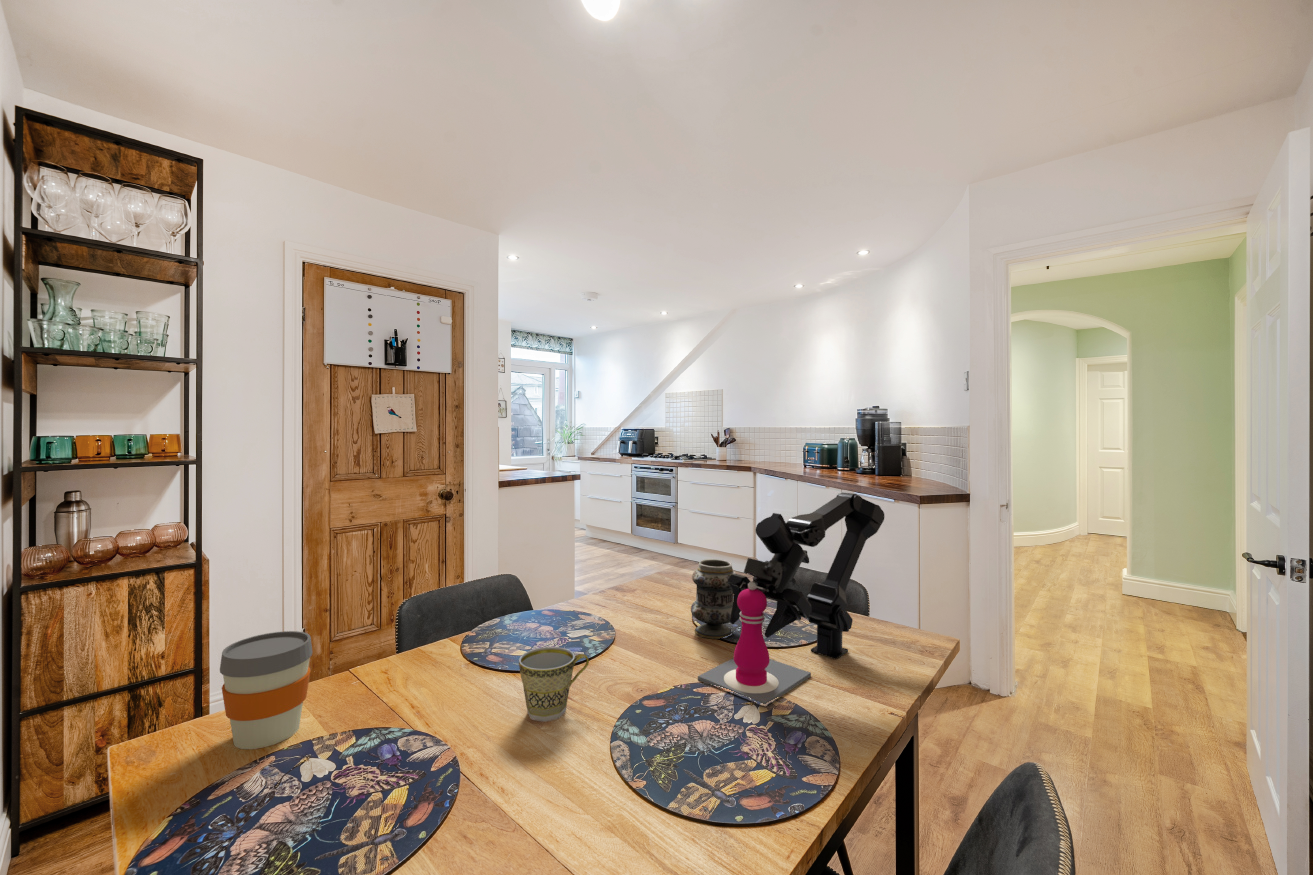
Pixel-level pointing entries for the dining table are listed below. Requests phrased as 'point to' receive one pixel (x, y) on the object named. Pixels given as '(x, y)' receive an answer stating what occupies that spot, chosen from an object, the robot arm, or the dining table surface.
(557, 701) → the ceramic cup
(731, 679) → the mat
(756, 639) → the pepper mill
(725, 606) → the apothecary jar
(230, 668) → the reusable coffee cup
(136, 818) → the dining table surface
